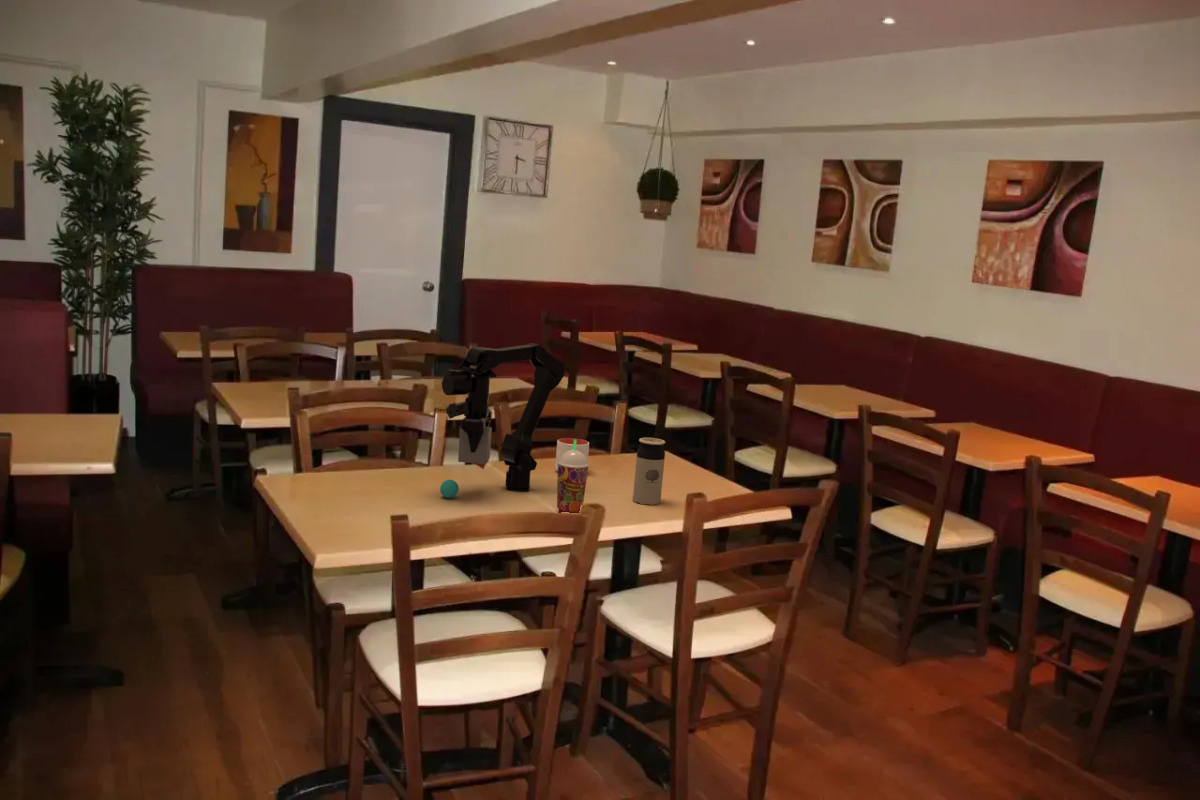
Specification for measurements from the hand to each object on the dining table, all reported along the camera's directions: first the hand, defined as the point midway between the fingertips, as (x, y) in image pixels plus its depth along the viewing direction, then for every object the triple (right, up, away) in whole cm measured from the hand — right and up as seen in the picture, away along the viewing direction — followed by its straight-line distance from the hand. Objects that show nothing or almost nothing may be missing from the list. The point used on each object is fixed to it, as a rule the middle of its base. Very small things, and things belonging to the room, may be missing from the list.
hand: (475, 449), depth 281 cm
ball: (-6, -11, -4) cm, 13 cm away
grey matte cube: (0, -3, 0) cm, 3 cm away
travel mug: (+48, -16, +10) cm, 51 cm away
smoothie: (+26, -17, -9) cm, 32 cm away
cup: (+25, -9, +38) cm, 47 cm away
